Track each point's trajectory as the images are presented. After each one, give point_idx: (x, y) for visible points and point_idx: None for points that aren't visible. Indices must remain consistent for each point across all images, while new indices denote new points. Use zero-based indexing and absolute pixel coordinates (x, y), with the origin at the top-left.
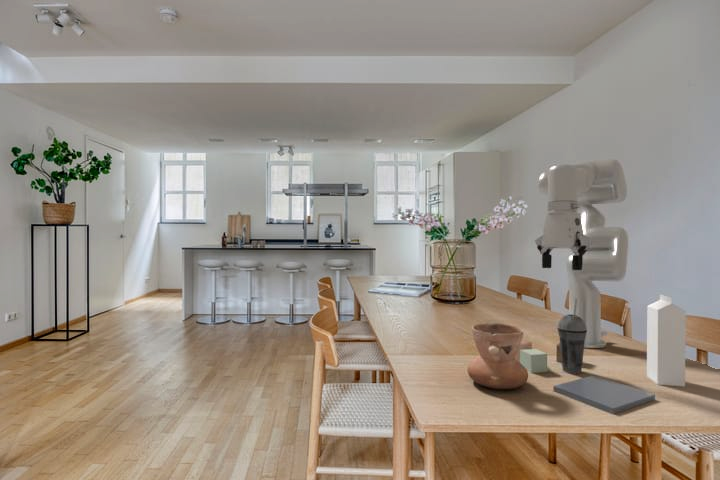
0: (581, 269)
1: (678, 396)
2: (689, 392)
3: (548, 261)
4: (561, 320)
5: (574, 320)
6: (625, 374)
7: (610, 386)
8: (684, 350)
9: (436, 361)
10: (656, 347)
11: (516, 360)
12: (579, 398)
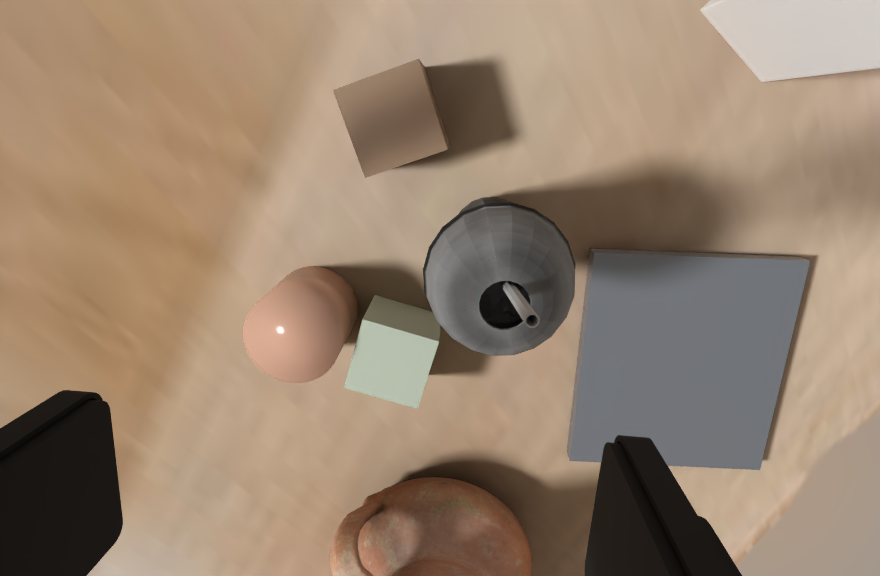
0: (645, 442)
1: (847, 149)
2: None
3: (38, 522)
4: (468, 346)
5: (544, 336)
6: (631, 66)
7: (683, 315)
8: None
9: (186, 543)
10: (858, 61)
11: (475, 556)
12: None
